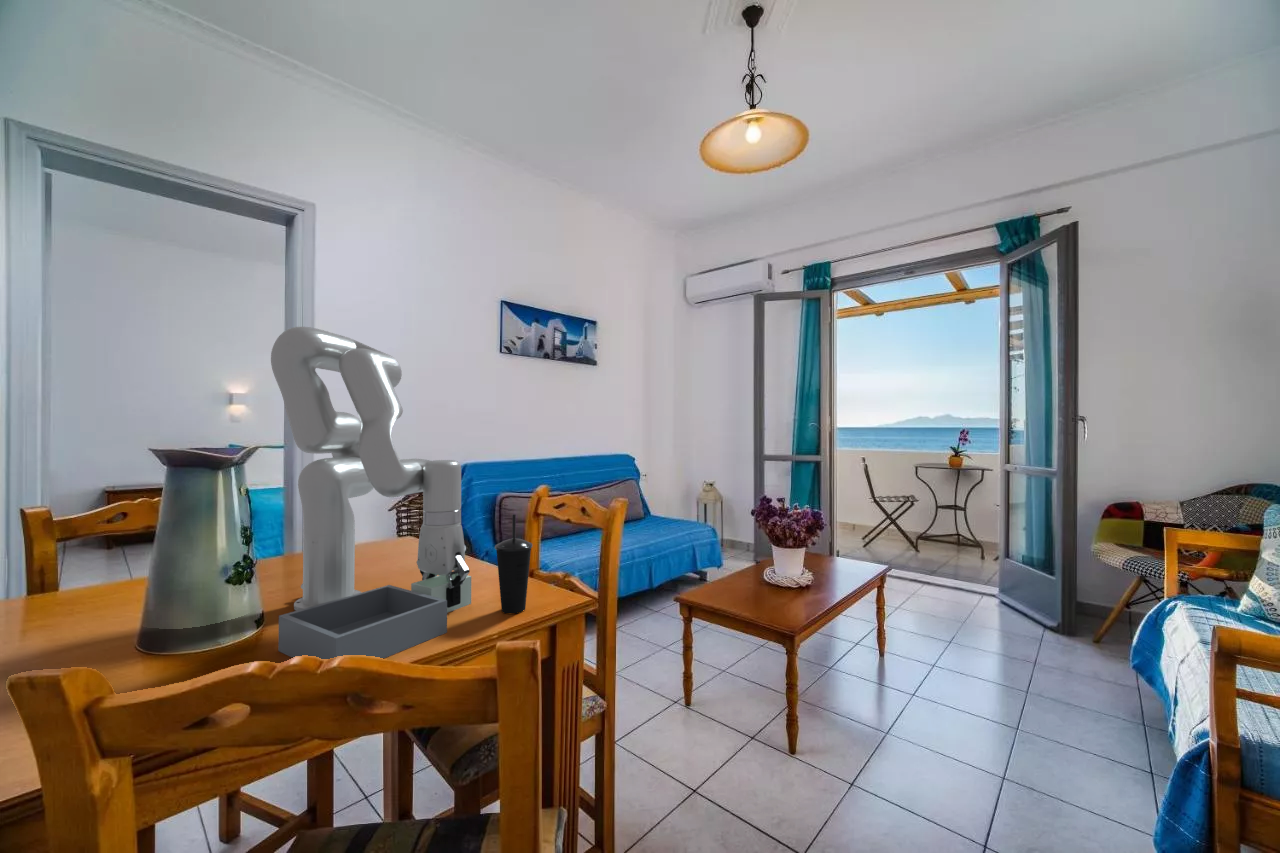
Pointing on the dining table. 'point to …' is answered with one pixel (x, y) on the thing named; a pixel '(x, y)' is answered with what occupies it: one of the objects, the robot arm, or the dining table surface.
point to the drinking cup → (513, 571)
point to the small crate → (443, 589)
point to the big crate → (363, 624)
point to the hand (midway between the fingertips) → (442, 601)
